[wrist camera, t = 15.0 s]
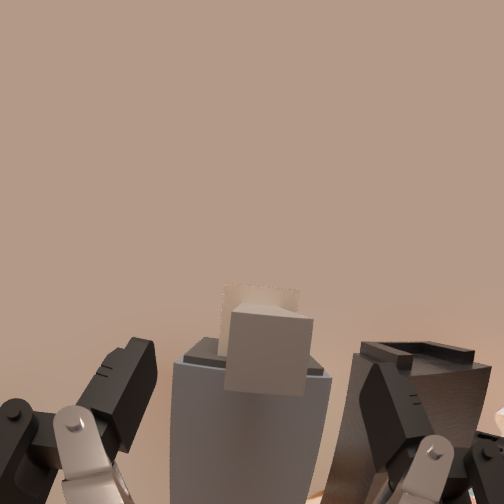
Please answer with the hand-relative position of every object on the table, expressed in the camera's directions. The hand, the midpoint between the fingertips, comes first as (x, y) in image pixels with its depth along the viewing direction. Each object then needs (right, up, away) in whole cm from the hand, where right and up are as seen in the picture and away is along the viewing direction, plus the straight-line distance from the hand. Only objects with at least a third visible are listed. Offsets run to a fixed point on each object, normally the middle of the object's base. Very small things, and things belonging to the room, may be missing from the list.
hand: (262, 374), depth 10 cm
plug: (0, -3, +7) cm, 8 cm away
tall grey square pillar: (-4, -35, +8) cm, 36 cm away
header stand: (+11, -37, +7) cm, 39 cm away
